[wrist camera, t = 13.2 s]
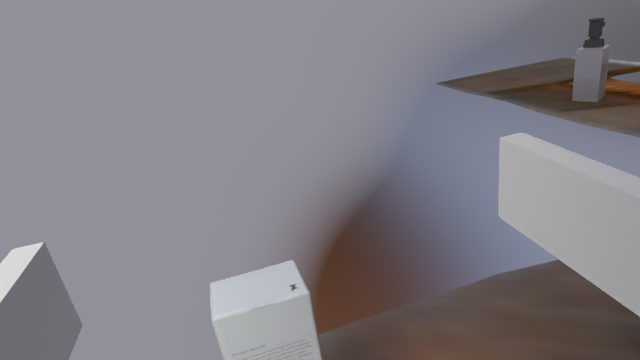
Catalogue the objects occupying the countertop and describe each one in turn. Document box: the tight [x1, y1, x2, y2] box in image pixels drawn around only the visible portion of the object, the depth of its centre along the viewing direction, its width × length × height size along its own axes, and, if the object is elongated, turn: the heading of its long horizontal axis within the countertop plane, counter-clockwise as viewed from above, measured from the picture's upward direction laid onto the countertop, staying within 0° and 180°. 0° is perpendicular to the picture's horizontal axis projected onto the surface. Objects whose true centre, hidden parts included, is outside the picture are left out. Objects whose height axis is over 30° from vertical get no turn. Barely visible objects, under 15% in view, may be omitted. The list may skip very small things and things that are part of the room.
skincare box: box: [210, 260, 322, 360], centre depth 30 cm, size 6×4×12 cm
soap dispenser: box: [572, 18, 610, 102], centre depth 123 cm, size 6×9×22 cm
